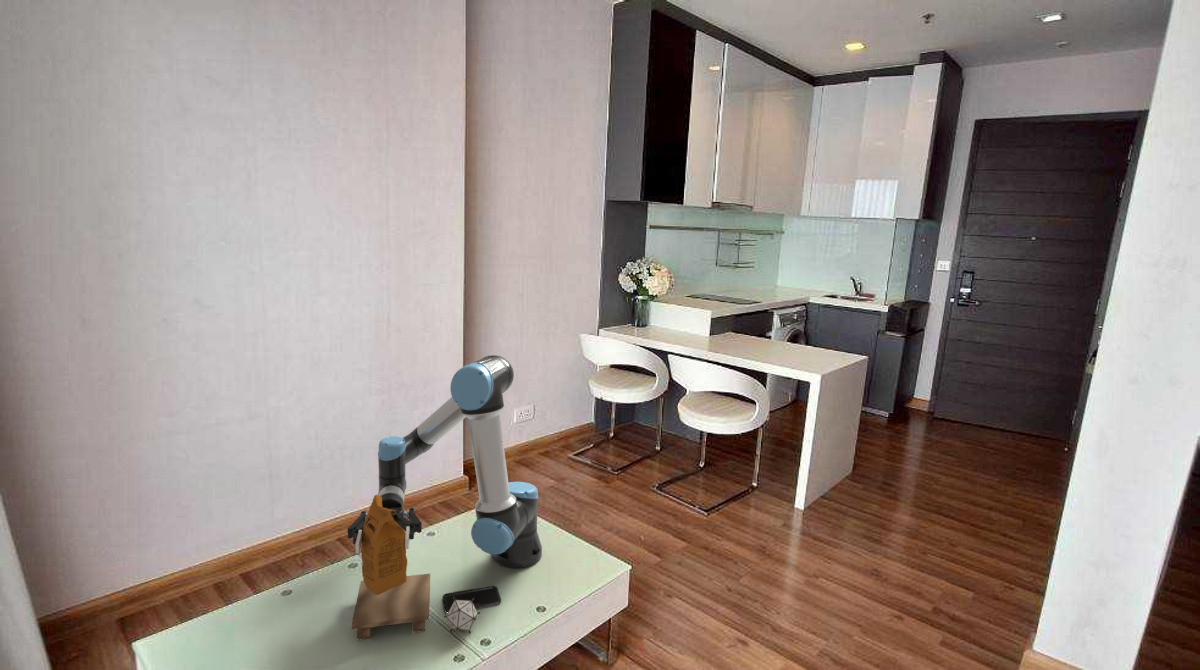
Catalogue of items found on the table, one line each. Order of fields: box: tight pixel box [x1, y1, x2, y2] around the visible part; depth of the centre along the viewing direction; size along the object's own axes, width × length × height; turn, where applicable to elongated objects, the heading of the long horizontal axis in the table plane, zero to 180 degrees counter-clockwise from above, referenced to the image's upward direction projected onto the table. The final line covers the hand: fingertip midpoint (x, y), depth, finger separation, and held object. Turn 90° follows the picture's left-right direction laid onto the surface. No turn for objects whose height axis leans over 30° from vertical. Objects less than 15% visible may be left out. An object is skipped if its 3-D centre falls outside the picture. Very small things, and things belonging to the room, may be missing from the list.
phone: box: [442, 585, 502, 612], centre depth 159 cm, size 8×1×15 cm
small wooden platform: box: [350, 573, 431, 641], centre depth 152 cm, size 18×18×5 cm
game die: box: [442, 597, 481, 634], centre depth 147 cm, size 9×8×10 cm
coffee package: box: [360, 493, 408, 595], centre depth 149 cm, size 10×12×22 cm
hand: (382, 546), depth 145 cm, fingers closed on coffee package, 11 cm apart
